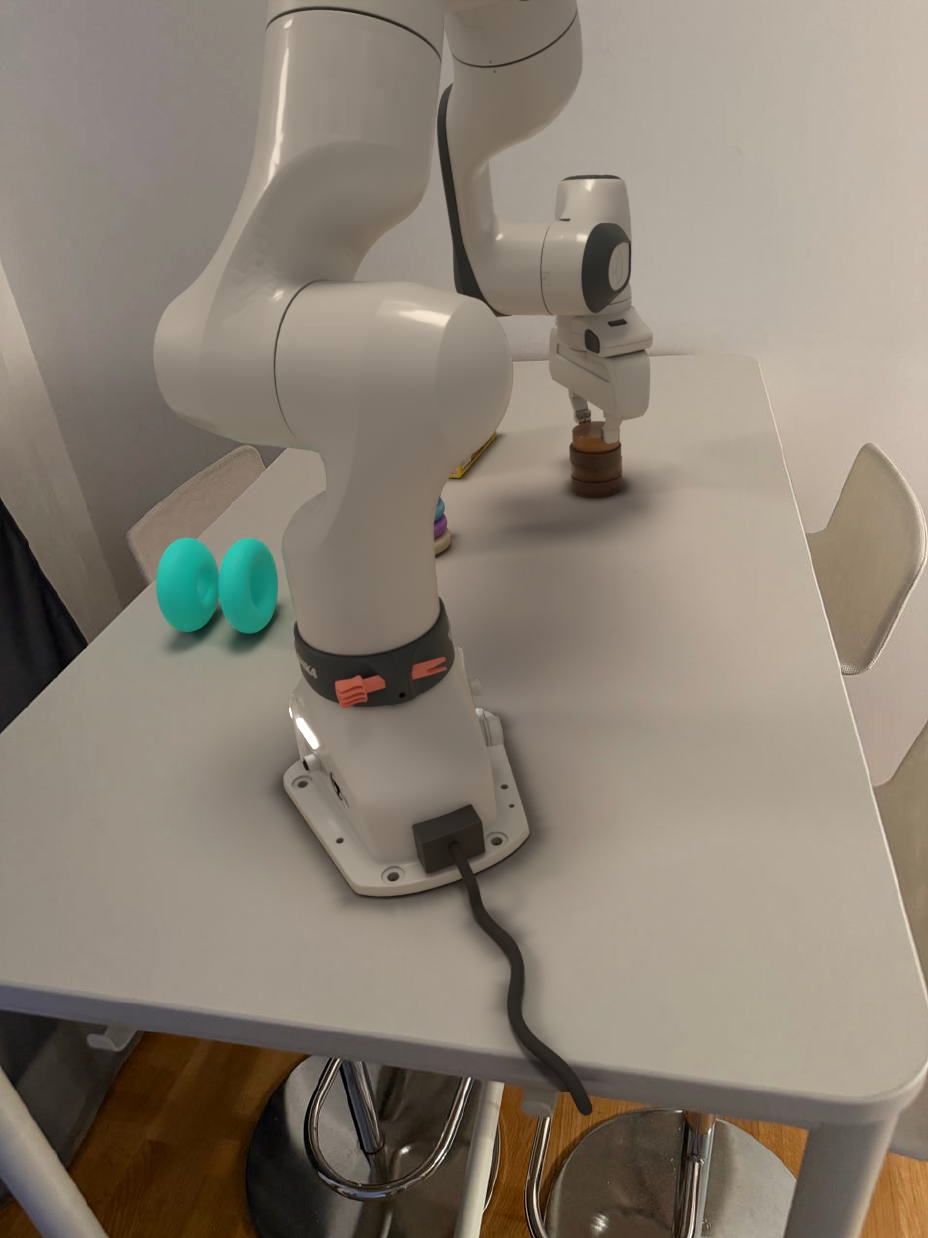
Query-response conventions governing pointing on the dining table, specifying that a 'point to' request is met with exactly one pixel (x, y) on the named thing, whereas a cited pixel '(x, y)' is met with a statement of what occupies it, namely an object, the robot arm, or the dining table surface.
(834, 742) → the dining table surface
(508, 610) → the dining table surface
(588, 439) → the oak chip
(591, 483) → the chip pile
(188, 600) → the donuts
